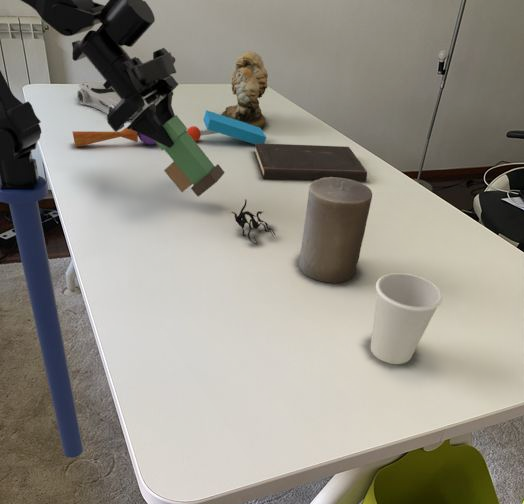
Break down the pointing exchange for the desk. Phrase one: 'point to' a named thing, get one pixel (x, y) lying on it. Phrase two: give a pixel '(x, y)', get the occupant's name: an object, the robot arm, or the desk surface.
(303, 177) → the hardcover book
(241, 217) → the creature
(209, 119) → the lever
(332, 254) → the pillar candle
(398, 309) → the dixie cup
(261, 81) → the brown mottled upright lump
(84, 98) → the car model
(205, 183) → the green block pillar
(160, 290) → the desk surface
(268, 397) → the desk surface
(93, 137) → the kendama
